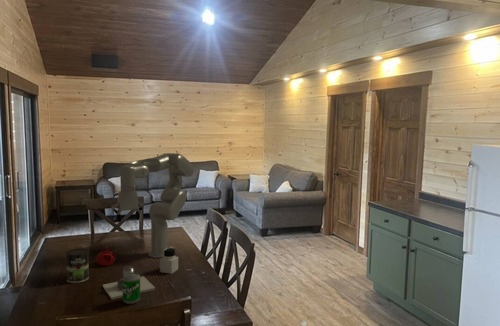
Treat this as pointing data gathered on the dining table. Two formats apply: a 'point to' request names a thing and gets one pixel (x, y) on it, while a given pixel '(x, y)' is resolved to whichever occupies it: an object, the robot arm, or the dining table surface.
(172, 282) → the dining table surface
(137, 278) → the soda can
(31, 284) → the dining table surface
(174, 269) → the medicine bottle
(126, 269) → the piston
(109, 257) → the pomegranate
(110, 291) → the ring board
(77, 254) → the coffee can
